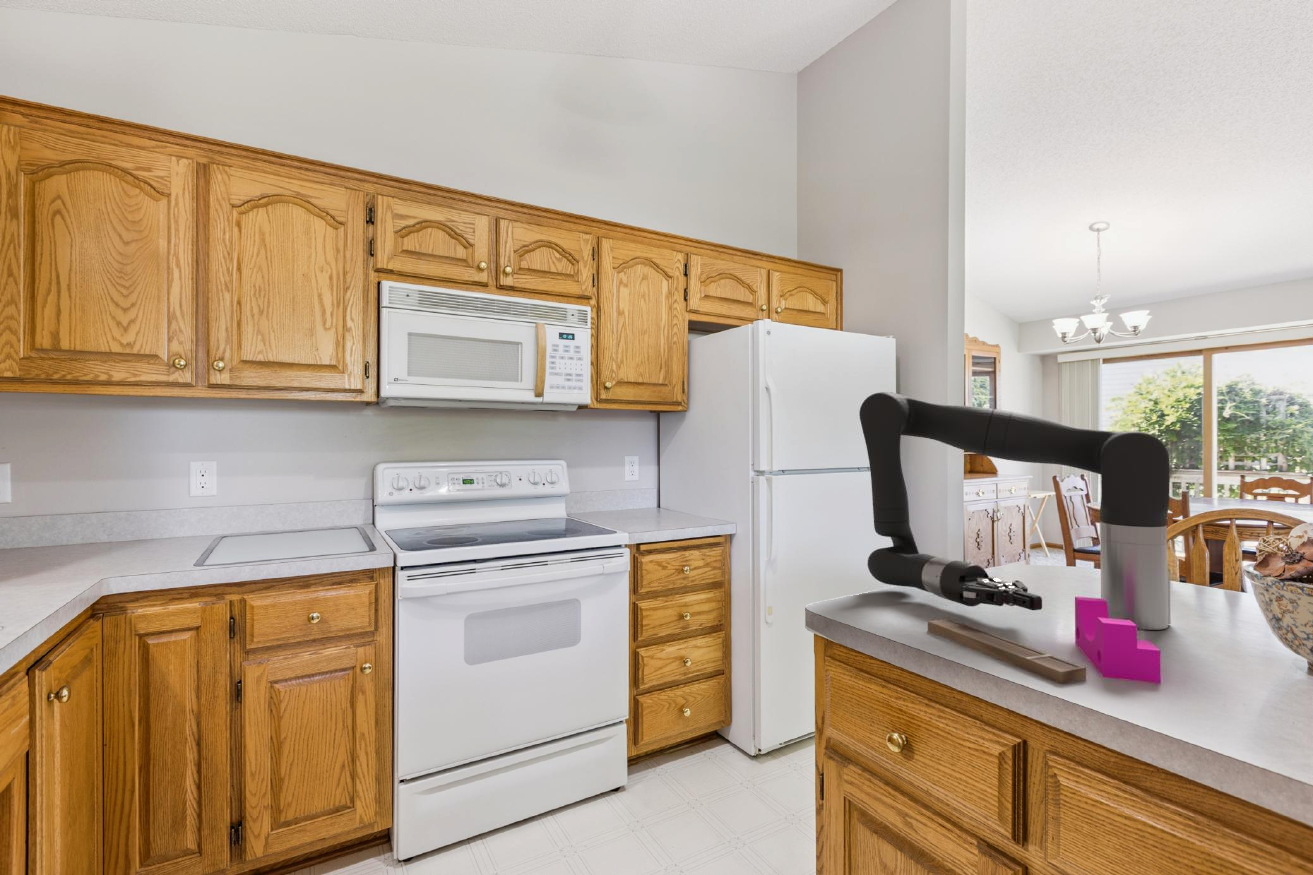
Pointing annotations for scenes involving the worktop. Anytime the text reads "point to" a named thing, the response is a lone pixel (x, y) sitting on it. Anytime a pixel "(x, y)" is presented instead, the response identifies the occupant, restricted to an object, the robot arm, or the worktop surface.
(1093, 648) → the toy block
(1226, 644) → the worktop surface
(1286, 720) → the worktop surface
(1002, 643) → the walnut plank
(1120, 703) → the worktop surface
